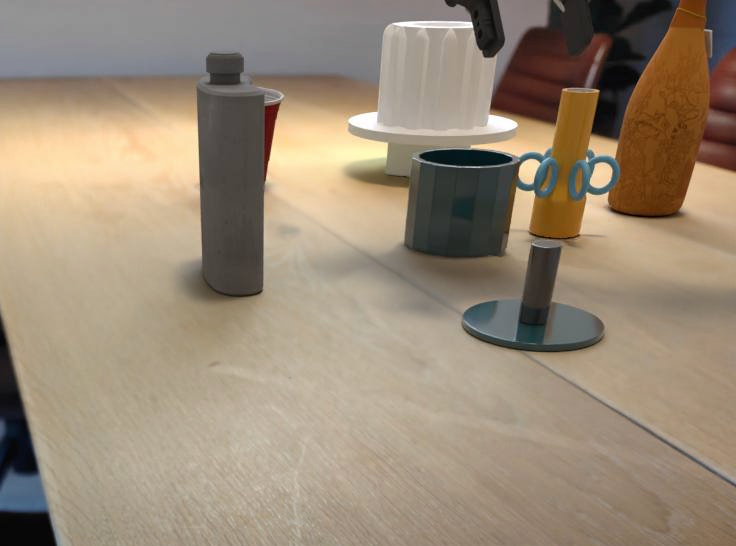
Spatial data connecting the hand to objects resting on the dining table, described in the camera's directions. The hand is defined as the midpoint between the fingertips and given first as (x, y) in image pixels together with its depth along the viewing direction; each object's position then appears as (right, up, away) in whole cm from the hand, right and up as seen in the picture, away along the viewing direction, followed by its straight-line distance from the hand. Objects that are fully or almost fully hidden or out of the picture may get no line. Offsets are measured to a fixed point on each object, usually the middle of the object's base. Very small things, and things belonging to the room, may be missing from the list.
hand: (538, 51), depth 75 cm
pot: (0, -3, +30) cm, 30 cm away
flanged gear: (+3, +23, +65) cm, 69 cm away
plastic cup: (-25, +17, +57) cm, 64 cm away
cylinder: (+13, +1, +36) cm, 38 cm away
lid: (+1, -20, +7) cm, 22 cm away
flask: (-26, -10, +22) cm, 35 cm away
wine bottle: (+28, +8, +46) cm, 54 cm away
